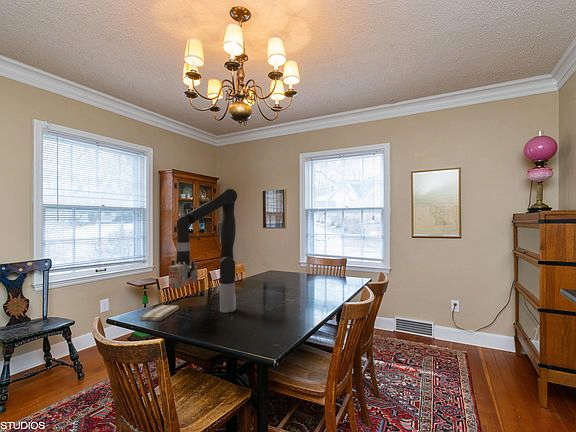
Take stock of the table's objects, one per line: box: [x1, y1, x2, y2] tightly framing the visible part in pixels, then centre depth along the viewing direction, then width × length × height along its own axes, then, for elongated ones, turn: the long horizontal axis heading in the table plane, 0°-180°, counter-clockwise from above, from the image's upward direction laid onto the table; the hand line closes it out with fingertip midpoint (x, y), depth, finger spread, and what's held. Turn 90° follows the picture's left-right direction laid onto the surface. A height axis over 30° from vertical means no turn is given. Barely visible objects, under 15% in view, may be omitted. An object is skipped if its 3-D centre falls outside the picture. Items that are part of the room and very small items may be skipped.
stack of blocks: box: [168, 263, 198, 290], centre depth 177 cm, size 21×6×12 cm, turn 169°
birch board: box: [139, 304, 180, 322], centre depth 178 cm, size 12×22×2 cm, turn 174°
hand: (183, 278), depth 176 cm, fingers closed on stack of blocks, 6 cm apart
